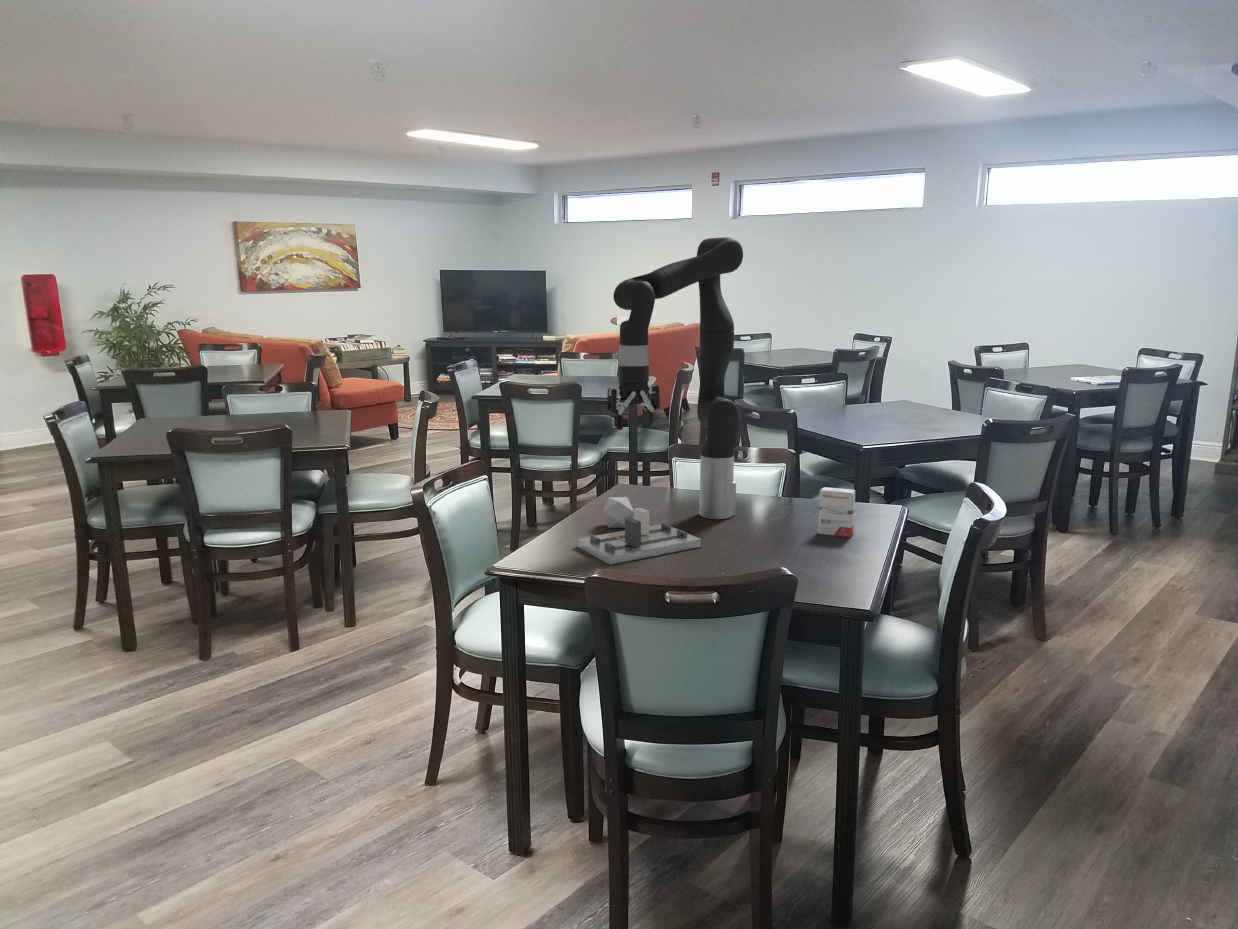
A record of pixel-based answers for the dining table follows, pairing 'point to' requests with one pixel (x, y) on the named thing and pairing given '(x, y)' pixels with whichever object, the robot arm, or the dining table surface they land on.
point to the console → (653, 544)
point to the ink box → (836, 512)
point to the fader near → (633, 532)
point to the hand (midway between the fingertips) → (633, 427)
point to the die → (617, 511)
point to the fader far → (642, 519)
